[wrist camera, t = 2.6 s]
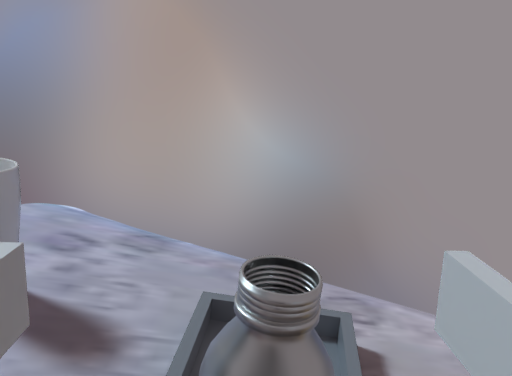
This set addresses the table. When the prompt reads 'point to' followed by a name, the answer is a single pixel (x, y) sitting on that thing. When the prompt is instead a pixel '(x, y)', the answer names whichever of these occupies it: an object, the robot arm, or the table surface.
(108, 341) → the table surface
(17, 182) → the drinking glass
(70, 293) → the table surface
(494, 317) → the robot arm
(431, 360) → the table surface
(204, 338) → the tray
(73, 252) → the table surface
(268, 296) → the silver metal bottle
